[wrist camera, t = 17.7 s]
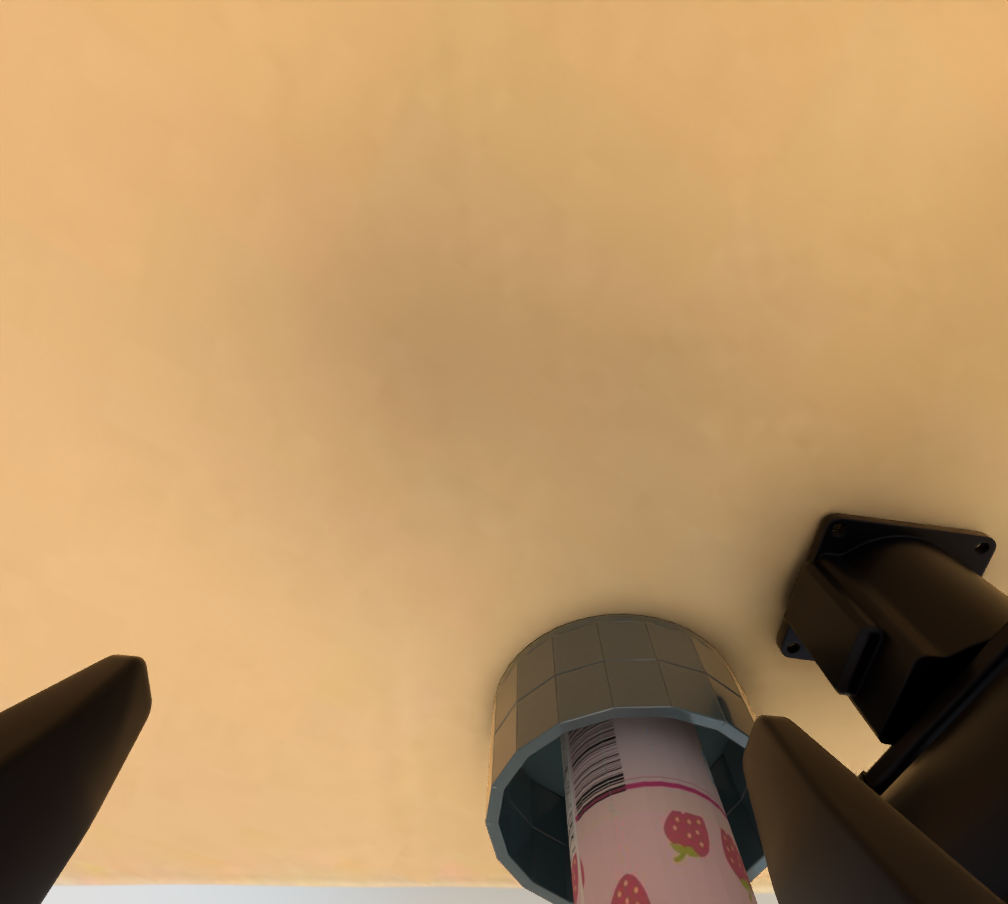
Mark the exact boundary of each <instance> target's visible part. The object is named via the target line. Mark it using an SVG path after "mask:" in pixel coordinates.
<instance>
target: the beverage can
mask: <svg viewBox="0 0 1008 904" xmlns="http://www.w3.org/2000/svg"><path fill="white" fill-rule="evenodd" d="M560 741H561V753H562V765H563V777H564V789H565V801H566V813H567V825H568V837H569V849H570V861H571V873H572V885H573V897H574V904H757V901H756V898H755V895H754V893H753V890H752V887H751V884H750V881H749V879H748V876H747V873H746V870H745V867H744V864H743V862H742V859H741V856H740V853H739V850H738V848H737V845H736V842H735V839H734V836H733V833H732V831H731V828H730V825H729V822H728V819H727V817H726V814H725V811H724V808H723V805H722V802H721V800H720V797H719V794H718V791H717V788H716V786H715V783H714V780H713V777H712V774H711V771H710V769H709V766H708V763H707V760H706V757H705V755H704V752H703V749H702V746H701V743H700V741H699V738H698V735H697V732H696V729H695V726H694V724H691V723H688V722H684V721H680V720H677V719H673V718H614V719H611V720H607V721H604V722H600V723H597V724H593V725H590V726H586V727H583V728H579V729H576V730H572V731H569V732H566V733H564V734H563V735H561V736H560Z"/></svg>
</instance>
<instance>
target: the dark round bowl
mask: <svg viewBox="0 0 1008 904" xmlns="http://www.w3.org/2000/svg"><path fill="white" fill-rule="evenodd" d="M614 718H673V719H677V720H680V721H684V722H688V723H691V724H694V726H695V729H696V732H697V735H698V738H699V741H700V743H701V746H702V749H703V752H704V755H705V757H706V760H707V763H708V766H709V769H710V771H711V774H712V777H713V780H714V783H715V786H716V788H717V791H718V794H719V797H720V800H721V802H722V805H723V808H724V811H725V814H726V817H727V819H728V822H729V825H730V828H731V831H732V833H733V836H734V839H735V842H736V845H737V848H738V850H739V853H740V856H741V859H742V862H743V864H744V867H745V870H746V873H747V876H748V879H749V881H750V882H751V881H752V880H753V879H754V878H755V877H757V876H758V875H759V874H760V873H761V872H762V871H763V870H764V869H765V868H766V867H767V863H766V859H765V855H764V851H763V847H762V843H761V839H760V836H759V832H758V828H757V824H756V820H755V816H754V812H753V808H752V804H751V800H750V796H749V792H748V788H747V785H746V781H745V777H744V772H743V763H742V760H743V754H744V751H745V748H746V745H747V742H748V739H749V736H750V733H751V731H752V728H753V725H754V722H755V720H756V719H757V718H756V716H755V714H754V712H753V710H752V708H751V706H750V704H749V702H748V700H747V698H746V696H745V694H744V692H743V690H742V688H741V686H740V685H739V683H738V682H737V680H736V678H735V677H734V675H733V673H732V671H731V669H730V667H729V666H728V664H727V663H726V661H725V660H724V658H723V657H722V656H721V655H720V654H719V653H718V652H717V651H716V649H715V648H714V647H712V646H711V645H710V644H709V643H708V642H706V641H705V640H704V639H703V638H701V637H699V636H698V635H696V634H695V633H693V632H691V631H690V630H688V629H685V628H683V627H681V626H679V625H676V624H674V623H671V622H668V621H665V620H661V619H658V618H653V617H647V616H642V615H628V614H616V615H603V616H596V617H589V618H585V619H582V620H578V621H574V622H571V623H569V624H566V625H563V626H561V627H558V628H556V629H554V630H552V631H550V632H548V633H547V634H545V635H543V636H541V637H540V638H538V639H537V640H536V641H534V642H533V643H531V644H530V645H529V646H528V647H527V648H525V649H524V650H523V651H522V652H521V653H520V654H519V655H518V656H517V657H516V659H515V660H514V661H513V662H512V663H511V664H510V666H509V667H508V669H507V671H506V672H505V674H504V675H503V677H502V679H501V682H500V684H499V686H498V689H497V692H496V696H495V701H494V712H493V718H492V724H491V738H490V754H489V770H488V786H487V802H486V818H485V822H486V823H485V824H486V827H487V830H488V833H489V836H490V839H491V842H492V845H493V848H494V851H495V854H496V857H497V859H498V860H499V861H500V862H501V863H502V865H503V866H504V867H505V868H506V869H507V870H508V871H509V872H510V873H511V874H512V875H513V877H514V878H515V879H516V880H517V881H518V882H519V883H520V884H521V885H522V886H523V887H524V888H525V889H527V890H529V891H531V892H533V893H535V894H536V895H538V896H540V897H542V898H544V899H546V900H547V901H549V902H551V903H553V904H574V897H573V885H572V873H571V861H570V849H569V837H568V825H567V813H566V801H565V789H564V777H563V765H562V753H561V741H560V736H561V735H563V734H564V733H566V732H569V731H572V730H576V729H579V728H583V727H586V726H590V725H593V724H597V723H600V722H604V721H607V720H611V719H614Z"/></svg>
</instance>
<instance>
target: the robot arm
mask: <svg viewBox="0 0 1008 904" xmlns="http://www.w3.org/2000/svg"><path fill="white" fill-rule="evenodd" d="M837 524H840V527H839V528H838V529H837V530H835V531H832V529H833V527H834V526H835V525H837ZM980 543H981V544H980ZM978 544H980V545H979V547H977V548H975V547H976V546H977V545H978ZM995 548H996V543H995V541H994V540H993V539H992V538H991V537H989V536H987V535H986V534H984V533H981V532H977V531H969V530H962V529H954V528H946V527H939V526H931V525H923V524H916V523H908V522H900V521H893V520H885V519H877V518H870V517H862V516H854V515H847V514H839V513H834V514H830V515H828V516H826V517H825V518H824V519H823V520H822V522H821V523H820V526H819V529H818V531H817V534H816V537H815V539H814V542H813V545H812V548H811V550H810V553H809V556H808V558H807V561H806V563H805V564H804V566H803V567H802V569H801V572H800V574H799V577H798V580H797V583H796V585H795V588H794V591H793V593H792V596H791V599H790V602H789V604H788V607H787V610H786V612H785V616H784V617H785V621H784V623H783V626H782V629H781V631H780V634H779V637H778V639H777V645H778V648H779V649H780V651H781V652H782V654H783V655H784V656H786V657H789V658H796V659H804V660H812V661H815V662H816V663H817V665H818V666H819V667H820V669H821V670H822V672H823V673H824V675H825V676H826V677H827V679H828V680H829V682H830V683H831V684H832V686H833V687H834V689H835V690H836V691H837V693H839V694H840V695H847V696H848V697H849V699H850V700H851V702H852V703H853V704H854V706H855V707H856V709H857V710H858V711H859V713H860V714H861V715H862V717H863V718H864V720H865V721H866V722H867V724H868V725H869V727H870V728H871V729H872V731H873V732H874V733H875V735H876V736H877V738H878V739H879V740H880V742H881V743H884V744H889V745H891V747H890V748H889V749H888V750H887V751H886V752H885V753H884V754H883V755H882V756H881V757H880V758H879V759H878V761H877V762H876V763H875V764H874V765H873V766H872V767H871V768H870V769H869V770H868V771H867V772H865V771H862V772H861V773H860V774H859V775H858V777H857V776H856V775H855V774H854V773H852V772H851V771H850V770H849V769H848V768H846V767H845V766H844V765H843V764H842V763H841V762H839V761H838V760H837V759H836V758H835V757H834V756H832V755H831V754H830V753H829V752H828V751H827V750H825V749H824V748H823V747H822V746H821V745H819V744H818V743H817V742H816V741H815V740H814V739H812V738H811V737H810V736H809V735H808V734H807V733H805V732H804V731H803V730H802V729H801V728H800V727H798V726H797V725H796V724H795V723H794V722H792V721H791V720H790V719H788V718H785V717H779V716H768V715H761V716H759V717H758V718H757V719H756V720H755V722H754V725H753V728H752V731H751V733H750V736H749V739H748V742H747V745H746V748H745V751H744V754H743V760H742V763H743V772H744V777H745V781H746V785H747V788H748V792H749V796H750V800H751V804H752V808H753V812H754V816H755V820H756V824H757V828H758V832H759V836H760V839H761V843H762V847H763V851H764V855H765V859H766V863H767V867H768V871H769V874H770V878H771V881H772V885H773V888H774V891H775V894H776V897H777V900H778V903H779V904H1008V596H1007V595H1005V594H1004V593H1002V592H1001V591H1000V590H998V589H997V588H996V587H994V586H993V585H991V584H990V583H989V582H987V581H986V580H984V579H983V578H982V575H983V573H984V571H985V569H986V567H987V565H988V563H989V561H990V559H991V557H992V555H993V553H994V551H995ZM791 643H794V645H792V646H789V645H790V644H791ZM151 703H152V698H151V692H150V685H149V679H148V672H147V666H146V662H145V661H144V660H143V658H140V657H137V656H126V655H112V656H109V657H107V658H104V659H102V660H101V661H99V662H97V663H95V664H93V665H91V666H89V667H87V668H85V669H83V670H81V671H79V672H77V673H76V674H74V675H72V676H70V677H68V678H66V679H64V680H62V681H60V682H58V683H56V684H54V685H52V686H51V687H49V688H47V689H45V690H43V691H41V692H39V693H37V694H35V695H33V696H31V697H29V698H27V699H26V700H24V701H22V702H20V703H18V704H16V705H14V706H12V707H10V708H8V709H6V710H4V711H2V712H1V713H0V904H41V903H42V901H43V899H44V898H45V896H46V895H47V893H48V892H49V890H50V889H51V887H52V886H53V884H54V883H55V881H56V879H57V878H58V876H59V875H60V873H61V872H62V870H63V869H64V867H65V865H66V864H67V862H68V861H69V859H70V858H71V856H72V855H73V853H74V852H75V850H76V848H77V847H78V845H79V844H80V842H81V840H82V839H83V837H84V835H85V834H86V832H87V831H88V829H89V827H90V825H91V824H92V822H93V820H94V818H95V817H96V815H97V813H98V811H99V809H100V807H101V806H102V804H103V802H104V800H105V798H106V796H107V794H108V792H109V790H110V789H111V787H112V785H113V783H114V781H115V779H116V777H117V775H118V773H119V771H120V770H121V768H122V766H123V764H124V762H125V760H126V758H127V756H128V754H129V752H130V751H131V749H132V747H133V745H134V743H135V741H136V739H137V737H138V735H139V734H140V732H141V730H142V728H143V726H144V724H145V722H146V720H147V718H148V716H149V713H150V710H151Z"/></svg>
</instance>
